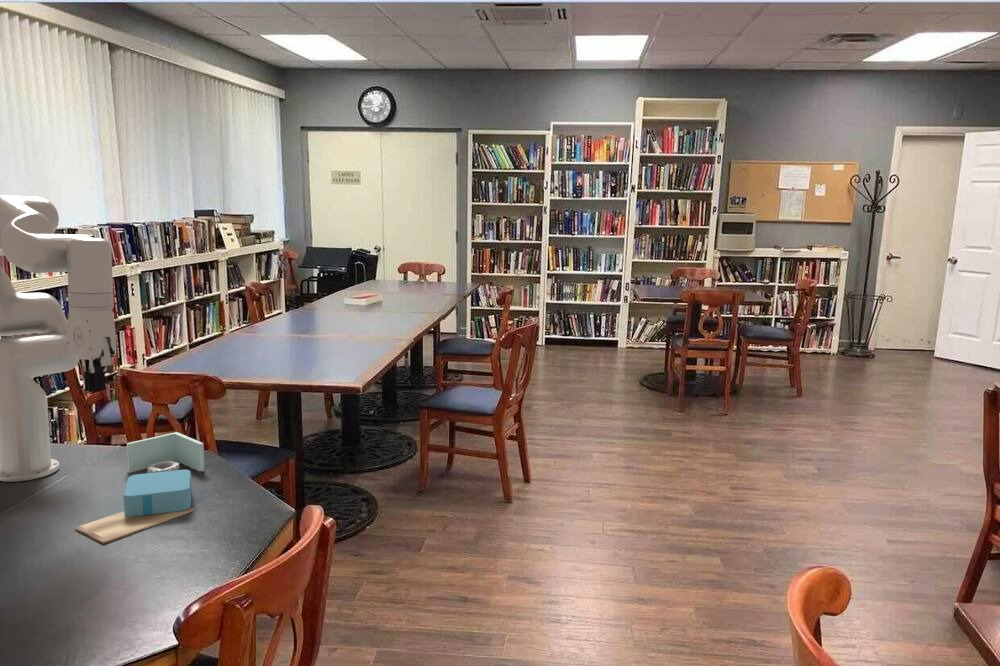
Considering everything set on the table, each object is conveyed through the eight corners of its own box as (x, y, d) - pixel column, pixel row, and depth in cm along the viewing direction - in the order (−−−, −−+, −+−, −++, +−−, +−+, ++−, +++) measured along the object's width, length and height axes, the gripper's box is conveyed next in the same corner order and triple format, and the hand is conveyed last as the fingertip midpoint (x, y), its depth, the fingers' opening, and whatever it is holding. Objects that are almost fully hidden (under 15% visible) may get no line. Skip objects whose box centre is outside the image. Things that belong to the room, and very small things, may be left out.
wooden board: (75, 529, 126) (74, 527, 126) (164, 498, 141) (164, 496, 141) (103, 544, 121) (103, 541, 121) (193, 511, 136) (193, 508, 136)
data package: (123, 518, 131) (190, 510, 136) (122, 497, 130) (189, 489, 135) (129, 494, 142) (191, 487, 146) (128, 474, 141) (190, 468, 146)
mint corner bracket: (127, 473, 155) (126, 443, 154) (177, 460, 165) (176, 431, 164) (153, 487, 148) (152, 455, 147) (204, 473, 158) (203, 443, 157)
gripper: (51, 297, 132) (56, 387, 135) (91, 306, 124) (96, 401, 127) (91, 295, 138) (94, 381, 141) (131, 303, 130) (134, 393, 133)
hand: (95, 390), depth 134 cm, fingers closed
